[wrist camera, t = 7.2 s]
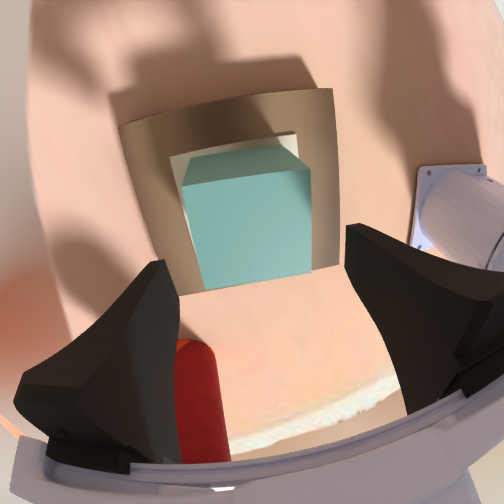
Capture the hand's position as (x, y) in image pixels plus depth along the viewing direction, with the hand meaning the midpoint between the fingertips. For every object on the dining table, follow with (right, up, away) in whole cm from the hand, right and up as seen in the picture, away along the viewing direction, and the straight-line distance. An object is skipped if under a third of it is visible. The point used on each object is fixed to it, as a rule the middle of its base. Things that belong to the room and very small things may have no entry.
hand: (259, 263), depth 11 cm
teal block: (-1, +4, +5) cm, 6 cm away
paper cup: (-7, -10, +16) cm, 20 cm away
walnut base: (-1, +5, +8) cm, 10 cm away
